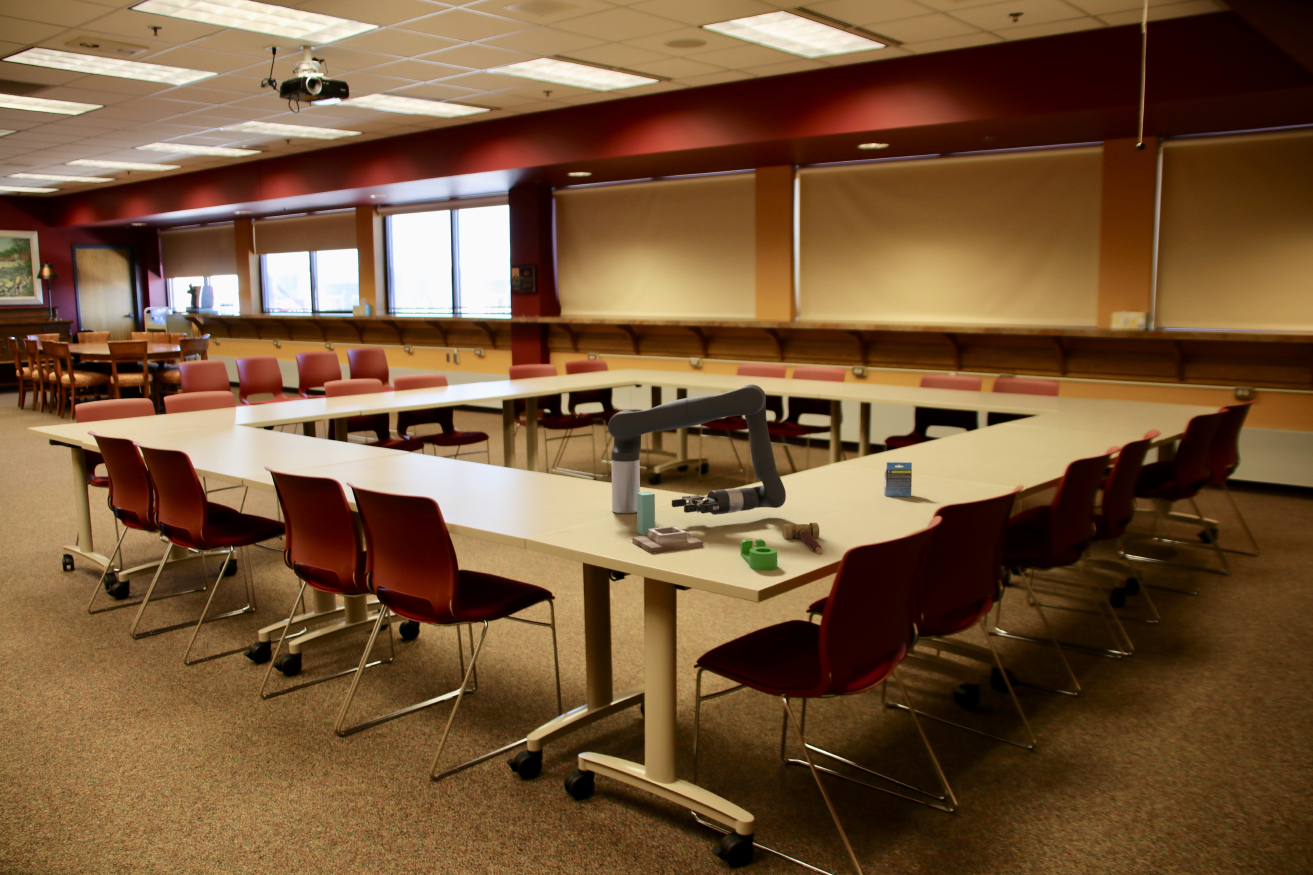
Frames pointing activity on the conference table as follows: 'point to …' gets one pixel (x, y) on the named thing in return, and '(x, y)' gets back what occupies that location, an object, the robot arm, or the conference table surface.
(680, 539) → the walnut socket plate
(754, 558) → the green slotted bracket
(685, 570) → the conference table surface
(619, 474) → the robot arm
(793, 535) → the gavel
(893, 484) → the label tape cartridge
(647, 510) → the teal post
